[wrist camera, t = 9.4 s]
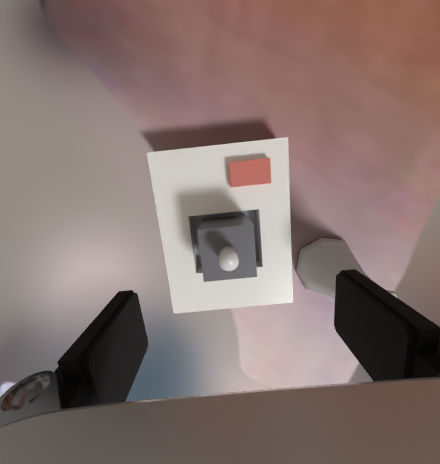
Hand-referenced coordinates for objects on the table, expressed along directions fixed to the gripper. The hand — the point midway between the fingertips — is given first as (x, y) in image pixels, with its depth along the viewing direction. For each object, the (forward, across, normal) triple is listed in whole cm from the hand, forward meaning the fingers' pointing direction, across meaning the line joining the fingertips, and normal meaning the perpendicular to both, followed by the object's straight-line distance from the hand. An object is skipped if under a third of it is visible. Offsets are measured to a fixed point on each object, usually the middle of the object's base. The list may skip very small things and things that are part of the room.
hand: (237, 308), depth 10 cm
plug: (+16, 0, +1) cm, 16 cm away
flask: (+17, -12, +6) cm, 21 cm away
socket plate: (+16, 0, 0) cm, 17 cm away
